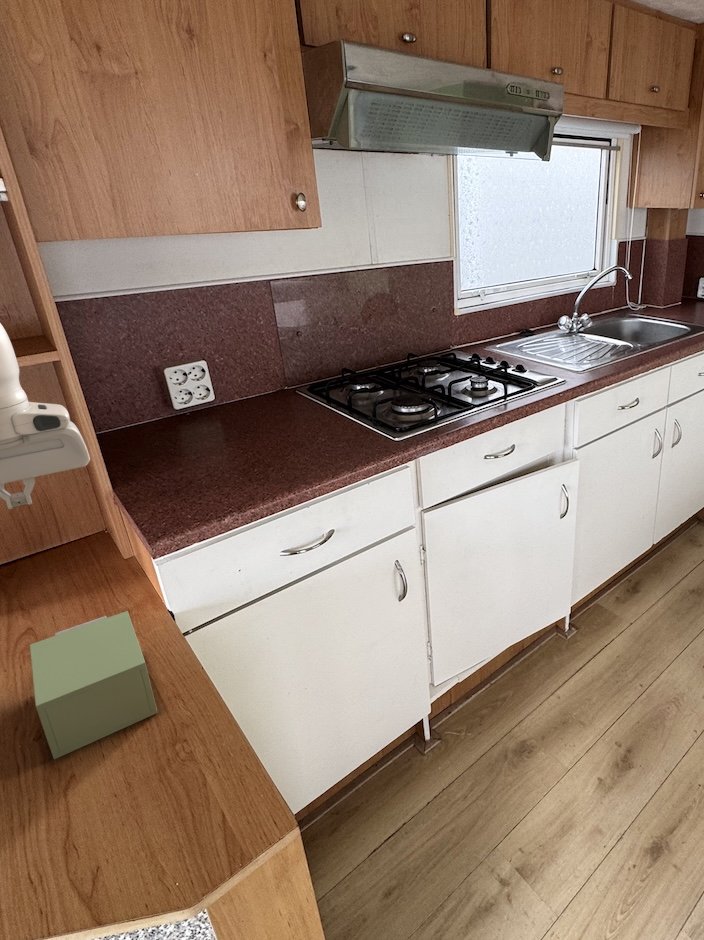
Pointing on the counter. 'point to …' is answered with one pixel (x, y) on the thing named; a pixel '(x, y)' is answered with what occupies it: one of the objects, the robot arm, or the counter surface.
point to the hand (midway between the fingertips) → (20, 505)
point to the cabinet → (90, 683)
